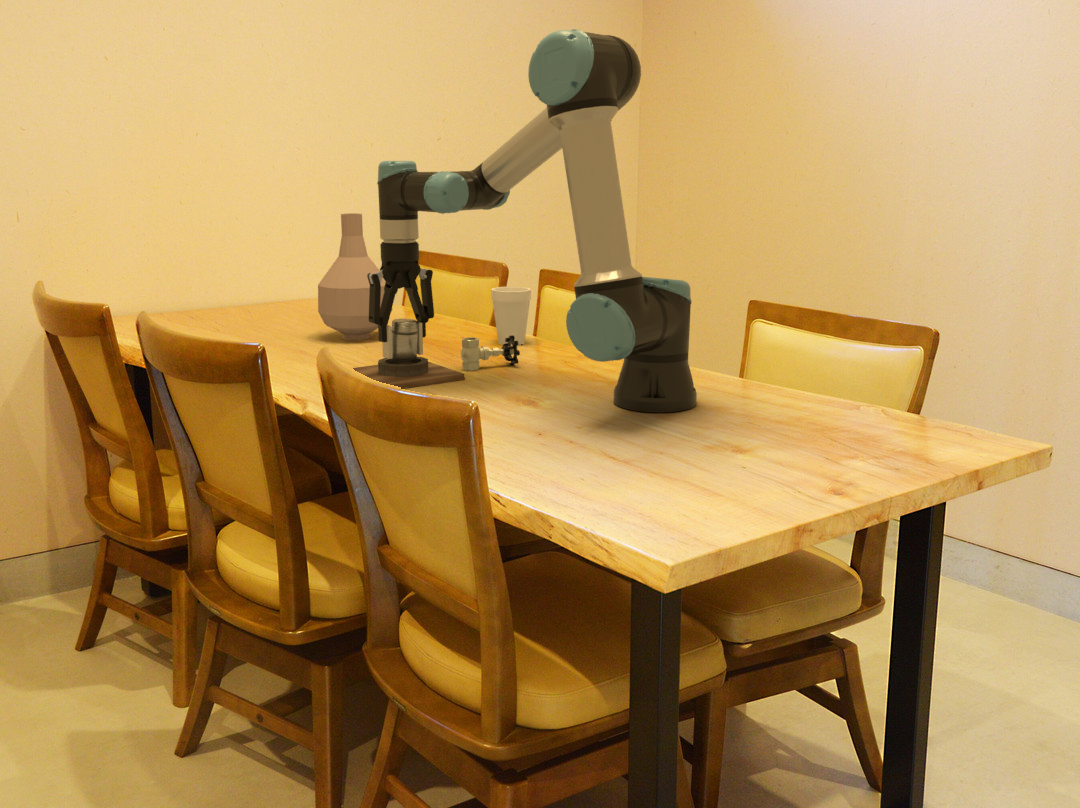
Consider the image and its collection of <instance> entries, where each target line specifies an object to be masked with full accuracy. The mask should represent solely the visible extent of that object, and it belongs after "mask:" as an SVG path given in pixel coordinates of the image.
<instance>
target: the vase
mask: <svg viewBox="0 0 1080 808" xmlns="http://www.w3.org/2000/svg"><path fill="white" fill-rule="evenodd" d="M340 221H341V223H340V224H341V226H340V227H341V239H340V245H339V249H338V251H339V252H338V256H337V257H336V259H335V261H334V262H333V263H332V265H331V266H330V268H329V269H328V270H327V272H326V274H324V276H323V278H321V280H320V282H318V284H317V291H318V292H317V305H318V306H317V312H318V315H319V316H320V318H321V319H322V322H323V324H324V325H325V326H327V327H329V328H331V329H332V330H335V331H337V332H339V333H341V334H342V338H343V339H344V340H346V341H362V340H363V341H364V340H368V339H370V338H371V333H373V332H374V331H376V330H378V325H377V324H374V323H371V322H369V292H370V284H369V281H368V277H367V275H368V273H375V272H378V271H380V268H379V267H378V266H377V265H376V264H375V262H374V261H373V260H372V259H371V258H370V257H369V254H368V252H367V247H366V242H365V239H364V234H363V232H364V231H363V214H362V213H355V212H354V213H350V212H349V213H348V212H347V213H340ZM381 280H382V282H381V283H380V284H381V297H380V307H381V303H382V299H383V295H384V287H385V283H386V281H385V280H384V278H383V277H382V279H381ZM392 311H393V309H392V310H391V313H390V315H391V314H392Z"/></svg>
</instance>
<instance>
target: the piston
mask: <svg viewBox="0 0 1080 808" xmlns="http://www.w3.org/2000/svg"><path fill="white" fill-rule="evenodd" d="M391 327H392V357H393V359H391V364H397V365H401V364H414V363H417V357H418V354H417V338H418V322H417V320H416V319H412V318H394V319H393V320H392V321H391Z"/></svg>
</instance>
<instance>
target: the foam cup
mask: <svg viewBox="0 0 1080 808" xmlns="http://www.w3.org/2000/svg"><path fill="white" fill-rule="evenodd" d="M490 290H491V300H492V306H493V307H492V308H493V314H494V321H495V327H496V328H495V329H496V334H497V344H499V345H500V344H501V346H503V344H506V343H508V342H505V338H509V336H512V335H514V337H515V340H514V341H518V346H522V345H521V344H523V345H525V343H526V337H527V336H526V335H527V326H528V318H529V310H530V303H531V302H530V301H531V299H532V289H531V288H529V287H526V286H524V287H523V286H498V287H492V288H491V289H490ZM511 346H513V345H512V344H511Z"/></svg>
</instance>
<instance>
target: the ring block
mask: <svg viewBox="0 0 1080 808" xmlns="http://www.w3.org/2000/svg"><path fill="white" fill-rule="evenodd" d="M352 368H353V369H354V370H355V371H357V372H359V373H361V374H363V375H365V376H367V377H369V378H371V379H373V380H376V381H379V382H382V383H386V384H390V385H394V386H398V387H401V388H404V389H406V388H405V387H411V388H416V387H423V386H429V385H430V386H431V385H437V384H444V383H449V382H457V381H462V380H463V381H464V380H465V379H466V377H465V376H466V375H465V373H463V372H461V371H457V370H454V369H452V368H449V367H446V366H442V365H440V364H437V363H434V362H431V361H429V359H428V358H427V357H424V356H423V357H422V356H417V363H414V364H401V365H397V364H391V359H388V358H385V357H383V358H381V359H378V360H377V364H371V365H366V366H359V367H352Z"/></svg>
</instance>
